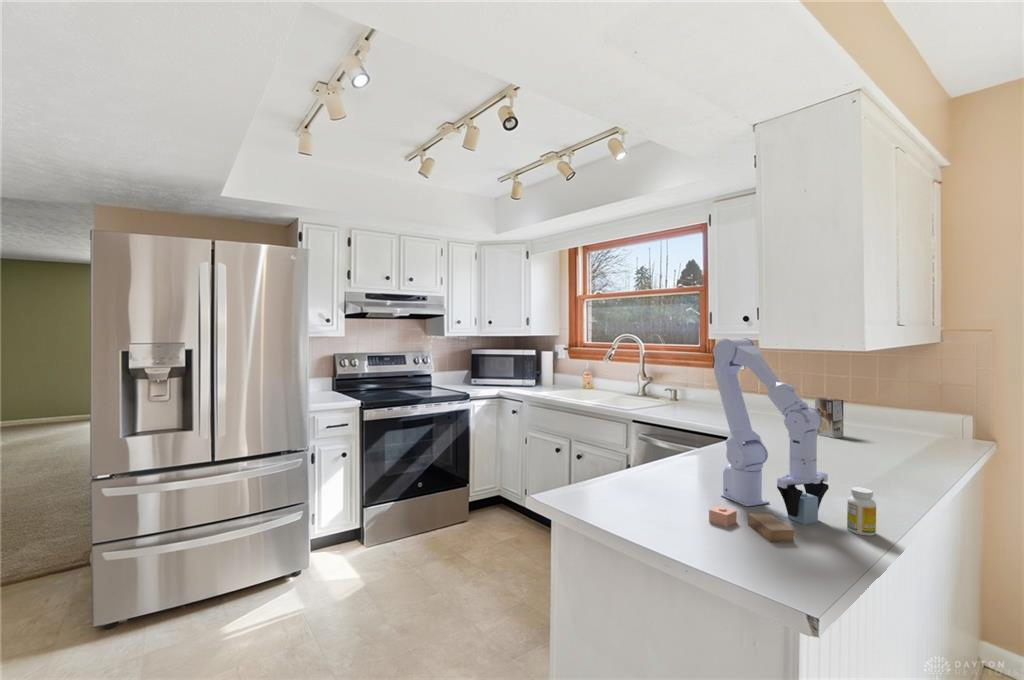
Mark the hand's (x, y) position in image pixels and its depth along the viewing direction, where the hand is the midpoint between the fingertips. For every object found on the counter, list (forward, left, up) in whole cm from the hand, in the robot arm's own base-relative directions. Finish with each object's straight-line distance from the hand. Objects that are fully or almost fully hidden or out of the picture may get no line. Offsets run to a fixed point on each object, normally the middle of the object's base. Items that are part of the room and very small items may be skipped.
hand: (802, 513), depth 119 cm
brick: (-6, -19, -2) cm, 20 cm away
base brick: (+3, -14, -2) cm, 14 cm away
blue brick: (0, 0, -2) cm, 2 cm away
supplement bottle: (+10, +6, -2) cm, 12 cm away
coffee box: (-64, +96, -2) cm, 115 cm away
